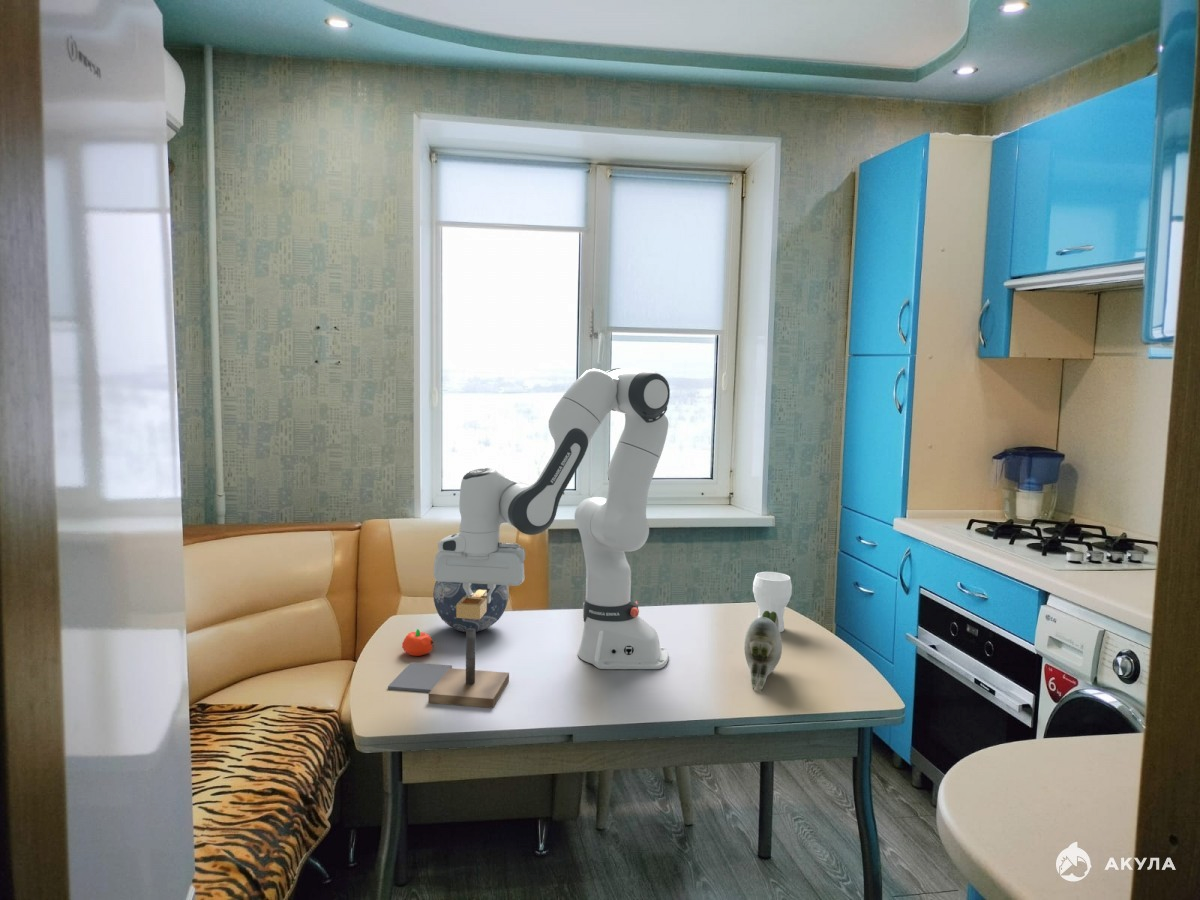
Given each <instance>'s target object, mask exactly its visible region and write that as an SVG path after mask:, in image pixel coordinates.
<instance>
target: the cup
mask: <svg viewBox="0 0 1200 900" xmlns="http://www.w3.org/2000/svg"><path fill="white" fill-rule="evenodd" d="M752 593H753V596H754V600H755V602H756V605H757V611H758V616H757V618H759V617H761V616H762V614H763V613H764V612H765V611H769V612H770V613H771V612H773V611H774V612H775V613H776V614H777V617H778V624H779V625H778V630H779V633H782V632H784V631H785V622H784V614H785V609H786V607H787V605H788V604H789V603H790V600H791V597H792V595H793V594H792V593H793V585H792V579H791V576H790V575H787V574H786V573H783V572H782V573H781V572H776V571H762V572H757V573H756V574H755V576H754V579H753V581H752Z"/></svg>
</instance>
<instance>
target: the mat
mask: <svg viewBox="0 0 1200 900" xmlns="http://www.w3.org/2000/svg"><path fill="white" fill-rule="evenodd" d="M449 668H453V665H449V664H439V663H437V664H436V663H428V662H427V663H426V662H425V663H424V662H412V661H411V662H410V663H408V665H406V667H405V668H404V669H403V670H402V671H401V672H400V673H399V674H398V675H397V676H396V677H395V678H394V679H393V680H392V681H391V682H390V683H389V684H388V686H387V690H396V691H409V692H419V693H420V692H423V693H429V692H430V691H431V690H432V689H433V688H434V686H435V685H436V684H437V683H438V681H439V680H440V679H441V678H442V677H443V675H444V674H445V673H446V672H447V670H448V669H449Z"/></svg>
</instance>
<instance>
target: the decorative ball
mask: <svg viewBox="0 0 1200 900" xmlns="http://www.w3.org/2000/svg"><path fill="white" fill-rule="evenodd" d="M470 588H471V590H472V592H473V593H475V592H476V591H477V590H487V593H488V592H489V590H490V589H488V585H487V584H475V583H471V585H470ZM509 589H510V587H509V585H496V587H495V589H494V590H493V592H492V594H491V602H490V603H487V612H486V613H485V614H484V615H483V616H482V618H481V619H468V618H456V604H457V603H458V602H459V601H460V600H461V599H462V598H463V597H468V595H467V594H466V592H465V590H464V589H463V583H457V582H439V581H437V580H435V583H434V587H433V603H434V607H435V609H436V611H437V615H439V617H440V619H441V621H443V622H444V623H445V625H448V626H449V627H450V628H452V629H453V630H456V631H459V632H463V633H464V632H465V633H466V629H469V628H474V629H475V630H476V631H475V633H476V632H481V631H483V630H486V629H488V628H490V627H491V626H493V625H494V624H496V623H497V622H498V621H499V620H500V619H501V617H502V616H503V614H504V612H505V610H506V608H507V605H508V602H509V595H510V591H509Z"/></svg>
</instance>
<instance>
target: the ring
mask: <svg viewBox="0 0 1200 900" xmlns="http://www.w3.org/2000/svg"><path fill="white" fill-rule="evenodd" d="M484 594H487V590H477V591H476V592H475V593H474V594H473V595H472V596H471V597H463V598H462V599H461V600H460V601H459V602H458V603H457V604H456V618H468V619H481V618H482V616H483V615H484V614H485V613H486V612H487V598H483V595H484Z"/></svg>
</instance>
